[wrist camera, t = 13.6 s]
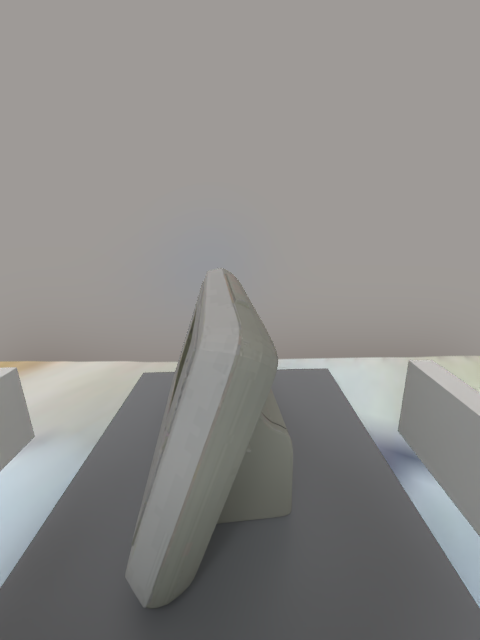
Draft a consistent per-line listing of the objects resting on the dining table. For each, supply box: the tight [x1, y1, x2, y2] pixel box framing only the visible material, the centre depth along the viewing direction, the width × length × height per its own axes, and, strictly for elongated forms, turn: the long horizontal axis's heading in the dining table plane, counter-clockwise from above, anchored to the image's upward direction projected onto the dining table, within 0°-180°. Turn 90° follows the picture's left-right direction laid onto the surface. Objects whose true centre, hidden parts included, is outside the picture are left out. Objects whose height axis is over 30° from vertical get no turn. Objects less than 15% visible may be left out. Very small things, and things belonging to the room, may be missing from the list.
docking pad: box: [0, 369, 480, 640], centre depth 18 cm, size 18×24×1 cm
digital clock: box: [125, 268, 293, 609], centre depth 17 cm, size 16×9×11 cm, turn 174°
